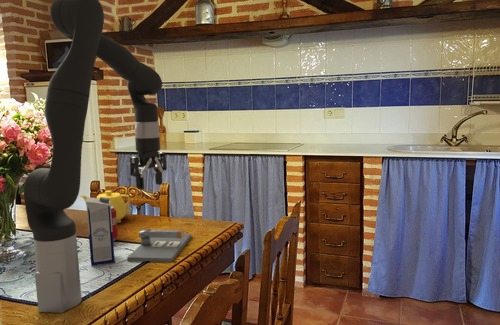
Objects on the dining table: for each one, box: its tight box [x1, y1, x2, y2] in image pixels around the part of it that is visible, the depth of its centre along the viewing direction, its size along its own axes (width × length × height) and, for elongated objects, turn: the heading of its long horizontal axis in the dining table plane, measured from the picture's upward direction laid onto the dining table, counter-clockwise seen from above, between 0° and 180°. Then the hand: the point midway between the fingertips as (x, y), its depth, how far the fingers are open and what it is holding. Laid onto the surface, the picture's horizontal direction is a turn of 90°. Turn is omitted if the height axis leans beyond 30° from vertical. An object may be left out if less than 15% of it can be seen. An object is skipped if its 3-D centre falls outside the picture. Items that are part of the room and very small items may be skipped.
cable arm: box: [138, 228, 185, 239], centre depth 139 cm, size 4×15×2 cm, turn 83°
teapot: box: [78, 189, 132, 224], centre depth 173 cm, size 14×20×13 cm
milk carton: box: [85, 196, 116, 267], centre depth 128 cm, size 7×7×20 cm
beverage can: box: [111, 206, 119, 242], centre depth 148 cm, size 6×6×12 cm
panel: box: [126, 233, 193, 263], centre depth 139 cm, size 24×14×4 cm, turn 173°
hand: (150, 186), depth 134 cm, fingers open, 8 cm apart
